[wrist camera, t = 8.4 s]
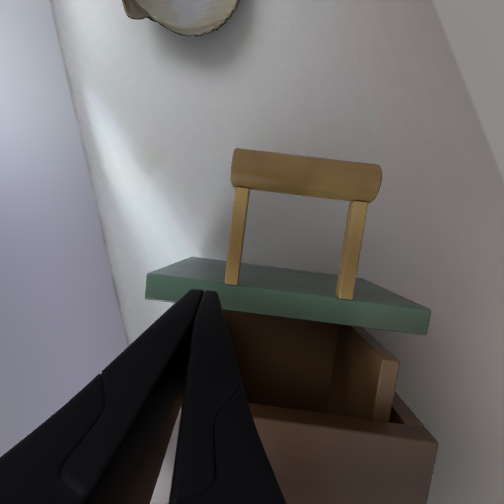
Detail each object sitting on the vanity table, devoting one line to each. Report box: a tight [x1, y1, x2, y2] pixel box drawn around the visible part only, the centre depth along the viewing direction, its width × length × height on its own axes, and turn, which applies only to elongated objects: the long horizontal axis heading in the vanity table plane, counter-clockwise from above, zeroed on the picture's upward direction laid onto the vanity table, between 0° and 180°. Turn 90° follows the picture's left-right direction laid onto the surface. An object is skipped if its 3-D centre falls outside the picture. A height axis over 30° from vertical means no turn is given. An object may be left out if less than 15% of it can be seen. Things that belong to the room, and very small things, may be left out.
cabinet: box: [150, 391, 438, 504], centre depth 16 cm, size 15×14×9 cm
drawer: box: [145, 148, 431, 422], centre depth 15 cm, size 19×13×8 cm, turn 173°
